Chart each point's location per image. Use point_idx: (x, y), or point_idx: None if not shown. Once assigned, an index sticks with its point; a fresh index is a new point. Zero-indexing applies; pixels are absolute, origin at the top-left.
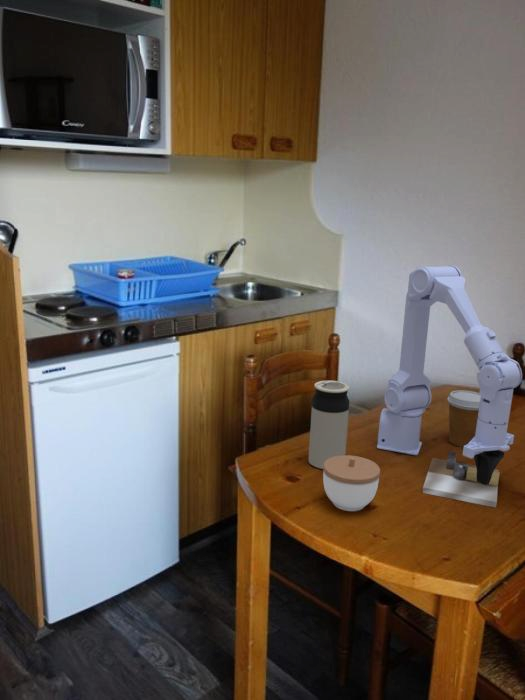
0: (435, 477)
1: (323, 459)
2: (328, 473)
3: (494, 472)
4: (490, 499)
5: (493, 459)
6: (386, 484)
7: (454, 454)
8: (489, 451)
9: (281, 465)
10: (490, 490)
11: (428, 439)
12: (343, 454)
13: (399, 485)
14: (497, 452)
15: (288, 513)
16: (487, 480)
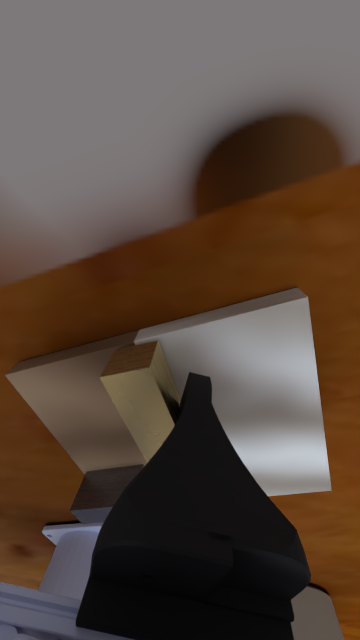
0: None
1: (341, 632)
2: None
3: (118, 393)
4: (297, 324)
5: (303, 549)
6: (323, 525)
7: (92, 511)
8: (224, 625)
9: (349, 623)
10: (206, 348)
11: (4, 520)
12: (306, 629)
13: (310, 509)
14: (160, 576)
15: None
16: (210, 390)
